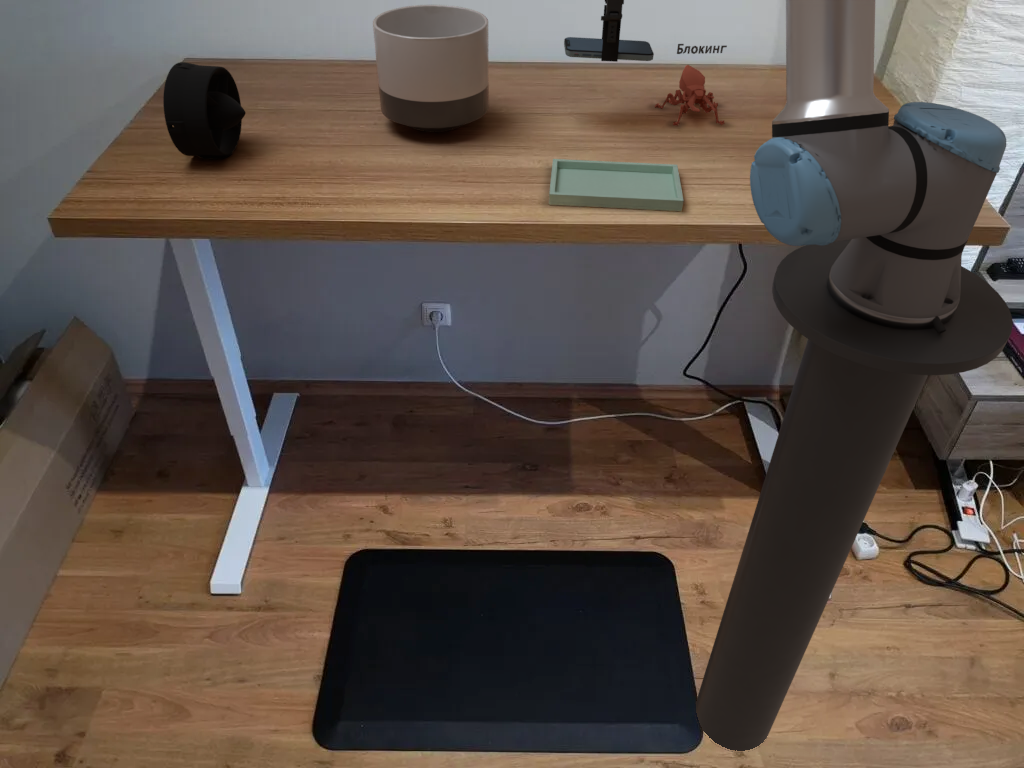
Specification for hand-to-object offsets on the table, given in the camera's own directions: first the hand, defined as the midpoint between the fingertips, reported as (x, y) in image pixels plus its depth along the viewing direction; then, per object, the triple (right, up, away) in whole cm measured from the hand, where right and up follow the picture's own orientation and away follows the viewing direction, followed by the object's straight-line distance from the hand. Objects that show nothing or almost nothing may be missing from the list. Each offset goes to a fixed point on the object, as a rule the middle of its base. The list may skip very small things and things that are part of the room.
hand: (609, 52), depth 139 cm
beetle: (+17, -7, +11) cm, 22 cm away
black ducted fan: (-65, -19, -4) cm, 68 cm away
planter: (-31, -10, +7) cm, 33 cm away
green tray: (-1, -27, -12) cm, 29 cm away
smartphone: (0, 0, 0) cm, 1 cm away
